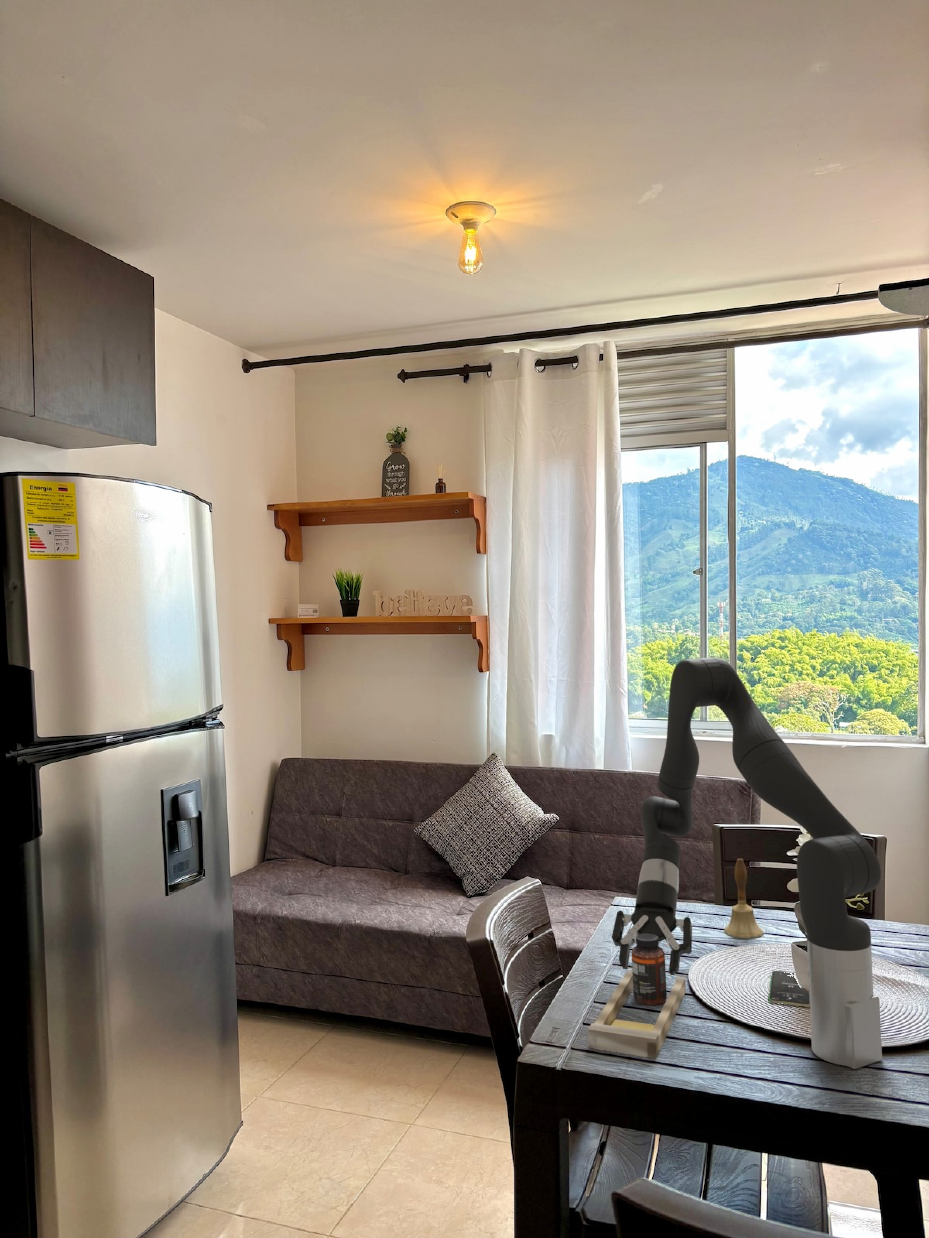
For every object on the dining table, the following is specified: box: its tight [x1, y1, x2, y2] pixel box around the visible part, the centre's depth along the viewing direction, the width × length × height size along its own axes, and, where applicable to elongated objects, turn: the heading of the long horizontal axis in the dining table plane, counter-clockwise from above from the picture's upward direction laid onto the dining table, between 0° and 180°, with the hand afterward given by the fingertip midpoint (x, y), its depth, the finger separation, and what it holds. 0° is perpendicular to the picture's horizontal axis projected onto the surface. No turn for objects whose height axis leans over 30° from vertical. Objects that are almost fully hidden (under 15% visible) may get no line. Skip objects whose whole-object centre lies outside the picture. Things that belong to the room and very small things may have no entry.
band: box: [611, 1018, 655, 1032], centre depth 145 cm, size 5×8×1 cm, turn 67°
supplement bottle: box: [631, 933, 668, 1006], centre depth 158 cm, size 6×6×11 cm
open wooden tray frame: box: [587, 970, 687, 1060], centre depth 150 cm, size 28×11×3 cm, turn 157°
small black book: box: [767, 970, 810, 1008], centre depth 160 cm, size 8×1×15 cm
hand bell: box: [723, 858, 764, 939], centre depth 192 cm, size 8×8×16 cm
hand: (647, 970), depth 157 cm, fingers open, 8 cm apart
